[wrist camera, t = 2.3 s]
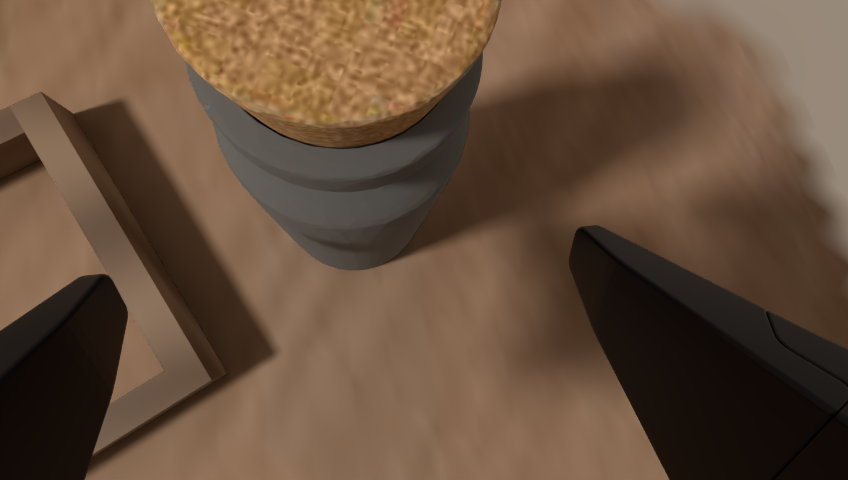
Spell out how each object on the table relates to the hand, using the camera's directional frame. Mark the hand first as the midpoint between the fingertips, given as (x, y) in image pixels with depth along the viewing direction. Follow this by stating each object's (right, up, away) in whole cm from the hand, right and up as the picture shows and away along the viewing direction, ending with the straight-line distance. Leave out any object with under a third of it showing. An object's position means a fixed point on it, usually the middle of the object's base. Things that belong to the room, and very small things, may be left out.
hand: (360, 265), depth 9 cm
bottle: (-2, +2, +12) cm, 12 cm away
